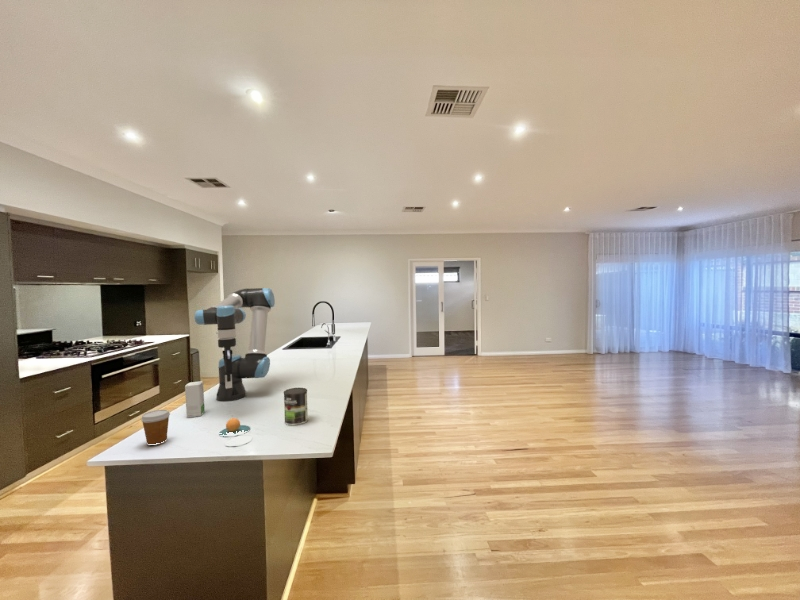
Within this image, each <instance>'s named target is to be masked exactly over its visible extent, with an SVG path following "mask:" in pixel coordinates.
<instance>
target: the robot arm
mask: <svg viewBox="0 0 800 600" xmlns="http://www.w3.org/2000/svg"><path fill="white" fill-rule="evenodd" d="M275 304H276V301H275V295H274V292H273V290H272V289H271V288H269V287H261V288H255V287H254V288H252V287H251V288H241V289H239V290H236V291H233V292H231V293H230V294H228V295H227V296H226V298H225V299H223V300H221V301H220V302H217V303H216V304H214V305H212V306H210V307H209V308H206V309H203V308H202V309H198V310H196V311H195V313H194V321H195V323H196V325H199V326H201V325H203V326H208V325H209V326H210V325H217V326H216V327H217V331H216V332H215V333H216V335H217V338H218V340H217V346H218V348H221V349H222V348H223V350H222V356H223V357H222V358H221V359H219V361H218V367H217V368H218V381H219V386H218V389H217V392H216V401H218V400H219V401H218V402H229V401H231V402H232V401H237V400H239V399H242V398H245V397H246V395H247V391H246V388H245V386H244V384H243V379H260V378H265V377H266V376H267V375H268V373H269V371H270V366H271V359H270V357H269V356H268V354H267V352H265V350H266V349H265V348H266V337H267V325H268V313H269V312H271V310H272V308H273V307H275ZM243 308H249V311H251V312H252V313H251V321H250V331H249V332H250V333H249V344H248V345H249V346H248V351H246V353H245V355H244V357H242V355H241V354H236V355H233V350H232V349H231V348H233V347H236V345H237V338H236V335H237V334H236V331H237V330H236V324H241V323H243V322H244V321H245V320H246V315H247V314H246V312H245V310H244V309H243Z"/></svg>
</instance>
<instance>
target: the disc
mask: <svg viewBox="0 0 800 600" xmlns="http://www.w3.org/2000/svg"><path fill="white" fill-rule="evenodd" d="M249 429H250V430H251V427H250V426H249V425H245V424H240V427H239V429H238V430H236V431H237V433H238V432H239V431H241V432H242V430H244V432H245V431H248V430H249ZM250 430H249V431H250ZM236 431H234V432H233V433H234V434H236ZM249 431H248V432H249ZM226 432H227V433H229V432H230V431H228V430H227V429H226V428H223V429H222V430H220V431H219V433H222V434H219V433H218V435H219V436H220V435H223V434H224V435H227V434H226ZM222 438H225V437H224V436H223V437H222Z"/></svg>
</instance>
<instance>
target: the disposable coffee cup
mask: <svg viewBox="0 0 800 600" xmlns="http://www.w3.org/2000/svg"><path fill="white" fill-rule="evenodd" d="M170 415H171V412H169V410H168V409H156V410H152V411H148V412H145V413H143V414H142V416H141V419H140V421H141V422H142V425H143V430H144V436H145V439H146V444H147V443H148V444H156V443H161V442H163V441H165V440H166V439H167V440H168V429H169V419H170Z"/></svg>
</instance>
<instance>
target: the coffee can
mask: <svg viewBox="0 0 800 600" xmlns="http://www.w3.org/2000/svg"><path fill="white" fill-rule="evenodd" d="M283 403H284V404H283V405H284V406H283V407H284V424H285V425H287V424H288V425H287V426H298V425H297V424H300V425H302V424H301V423H303V424H305V423H307V422H308V421H309V417H308V416H309V415H308V412H309V411H308V388H305V387H291V388H288V389H285V390H284V391H283ZM307 420H308V421H307ZM306 421H307V422H306ZM304 422H305V423H304Z"/></svg>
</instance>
